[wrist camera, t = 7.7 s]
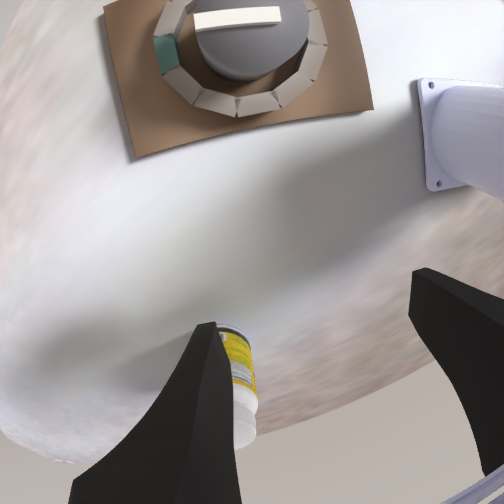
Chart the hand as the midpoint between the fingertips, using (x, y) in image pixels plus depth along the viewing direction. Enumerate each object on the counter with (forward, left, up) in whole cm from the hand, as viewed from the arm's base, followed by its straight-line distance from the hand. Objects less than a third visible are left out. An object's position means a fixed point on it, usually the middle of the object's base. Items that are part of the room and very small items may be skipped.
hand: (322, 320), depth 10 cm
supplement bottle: (+6, +9, -10) cm, 15 cm away
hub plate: (0, -11, -10) cm, 15 cm away
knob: (0, -11, -9) cm, 14 cm away
